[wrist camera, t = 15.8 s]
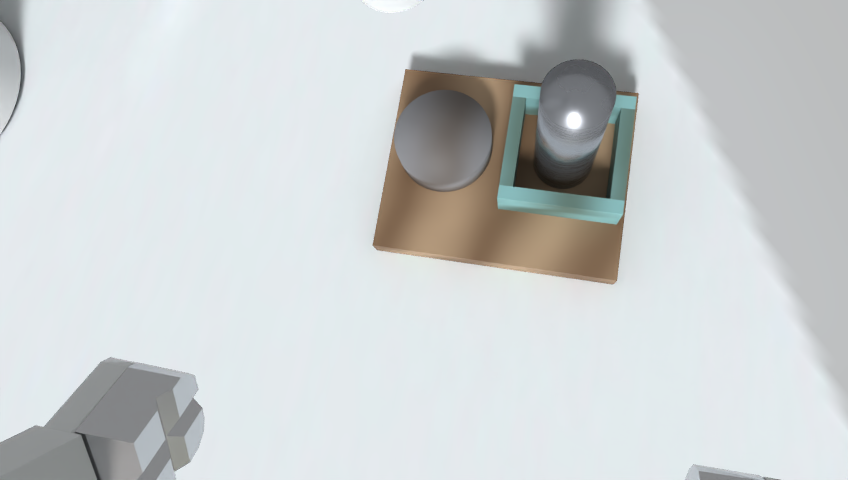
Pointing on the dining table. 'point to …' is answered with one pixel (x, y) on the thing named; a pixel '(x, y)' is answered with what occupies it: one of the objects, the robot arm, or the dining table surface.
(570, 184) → the pin
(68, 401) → the robot arm
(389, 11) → the mug
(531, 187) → the nut block
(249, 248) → the dining table surface
